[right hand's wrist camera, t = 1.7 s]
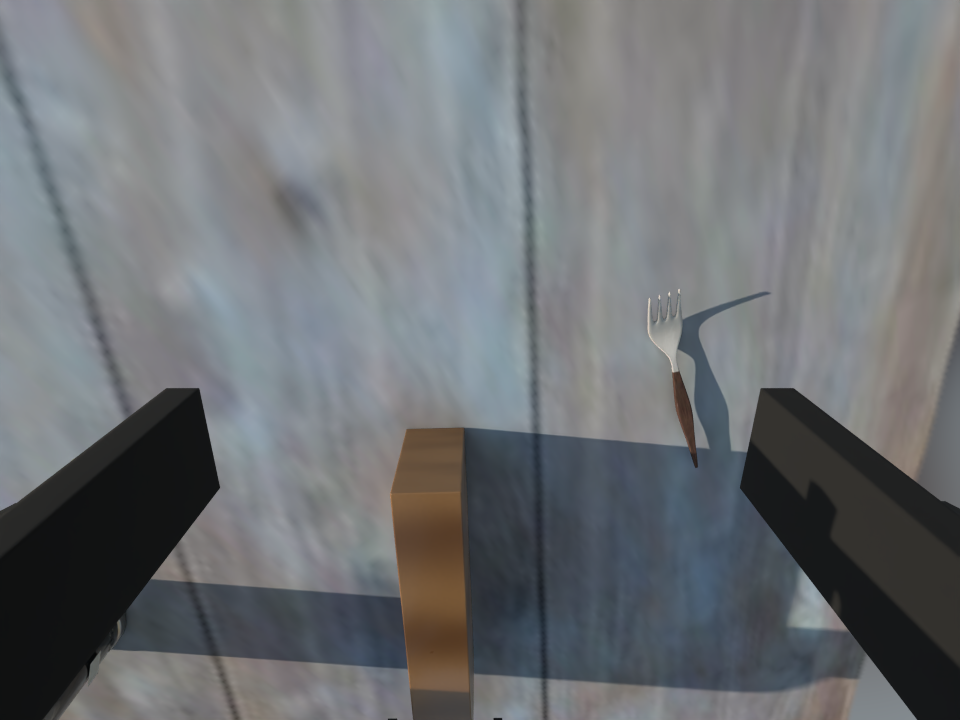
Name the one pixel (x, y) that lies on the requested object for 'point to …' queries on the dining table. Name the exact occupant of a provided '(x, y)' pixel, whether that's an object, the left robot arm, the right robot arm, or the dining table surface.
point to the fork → (674, 363)
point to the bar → (435, 572)
